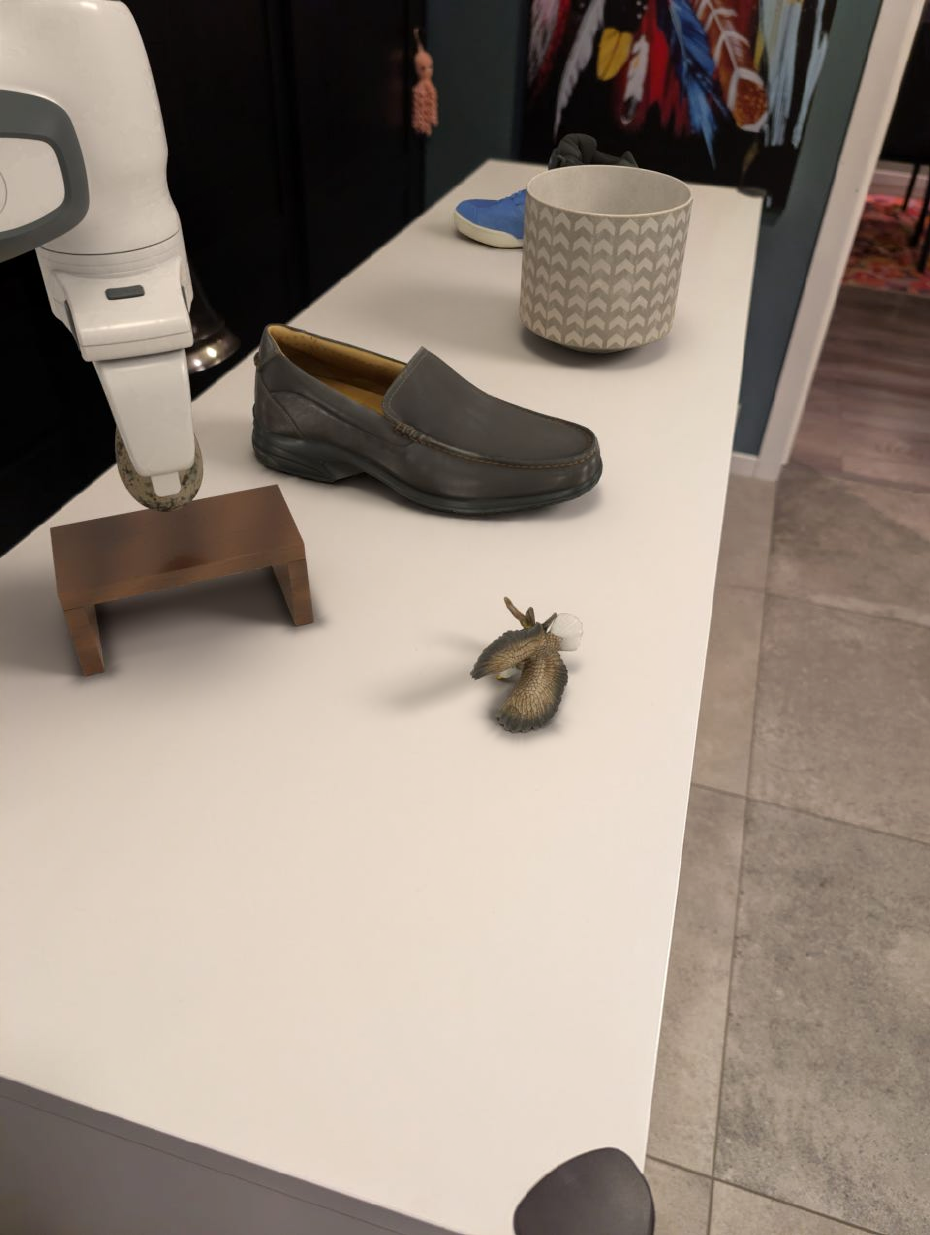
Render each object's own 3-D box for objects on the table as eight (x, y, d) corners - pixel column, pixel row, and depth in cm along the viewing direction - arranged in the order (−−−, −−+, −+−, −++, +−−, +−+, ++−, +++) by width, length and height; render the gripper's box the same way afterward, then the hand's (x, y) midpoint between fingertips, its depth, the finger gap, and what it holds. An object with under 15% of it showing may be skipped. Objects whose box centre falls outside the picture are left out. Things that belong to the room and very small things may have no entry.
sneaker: (466, 220, 155) (467, 109, 145) (645, 243, 148) (660, 128, 138) (440, 245, 146) (439, 129, 136) (629, 271, 139) (644, 150, 129)
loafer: (588, 540, 88) (603, 412, 80) (226, 483, 94) (204, 359, 86) (607, 467, 98) (623, 347, 89) (278, 420, 104) (263, 304, 96)
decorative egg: (223, 491, 74) (202, 370, 68) (188, 534, 70) (161, 409, 63) (153, 480, 75) (125, 360, 69) (114, 522, 71) (80, 398, 64)
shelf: (84, 676, 73) (57, 595, 68) (75, 606, 80) (49, 527, 75) (313, 622, 79) (304, 543, 73) (287, 560, 85) (277, 483, 80)
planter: (660, 382, 112) (685, 223, 101) (502, 361, 116) (509, 205, 104) (676, 319, 126) (700, 172, 115) (535, 302, 130) (544, 158, 118)
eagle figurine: (474, 628, 76) (444, 688, 69) (529, 569, 73) (504, 626, 65) (547, 686, 77) (526, 752, 70) (605, 631, 74) (590, 694, 66)
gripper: (55, 230, 67) (101, 407, 76) (79, 348, 53) (132, 550, 62) (147, 220, 69) (181, 395, 78) (195, 331, 55) (230, 530, 64)
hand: (160, 464), depth 70 cm, fingers closed on decorative egg, 6 cm apart
